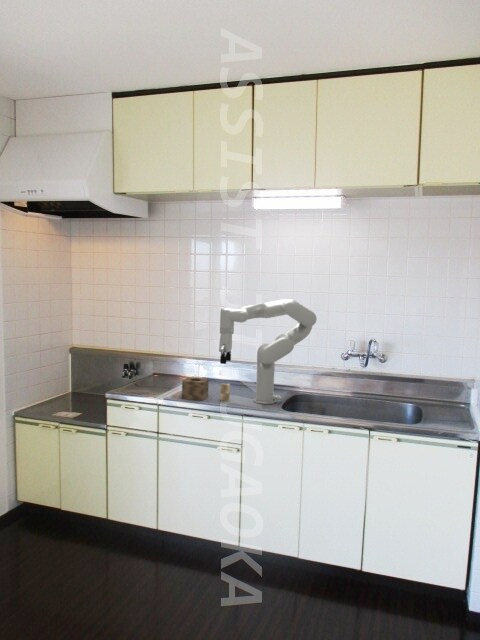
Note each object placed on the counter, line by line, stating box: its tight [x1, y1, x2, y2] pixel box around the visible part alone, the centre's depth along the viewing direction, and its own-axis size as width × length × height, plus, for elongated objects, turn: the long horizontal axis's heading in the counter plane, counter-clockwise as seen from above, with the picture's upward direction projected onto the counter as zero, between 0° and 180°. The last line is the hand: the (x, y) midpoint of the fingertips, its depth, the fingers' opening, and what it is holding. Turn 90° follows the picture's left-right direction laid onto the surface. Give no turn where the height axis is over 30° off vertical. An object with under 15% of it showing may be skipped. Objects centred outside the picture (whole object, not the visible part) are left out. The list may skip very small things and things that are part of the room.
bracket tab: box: [219, 382, 231, 402], centre depth 282 cm, size 4×3×9 cm
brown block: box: [181, 376, 210, 401], centre depth 286 cm, size 12×10×10 cm
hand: (225, 362), depth 281 cm, fingers open, 9 cm apart
